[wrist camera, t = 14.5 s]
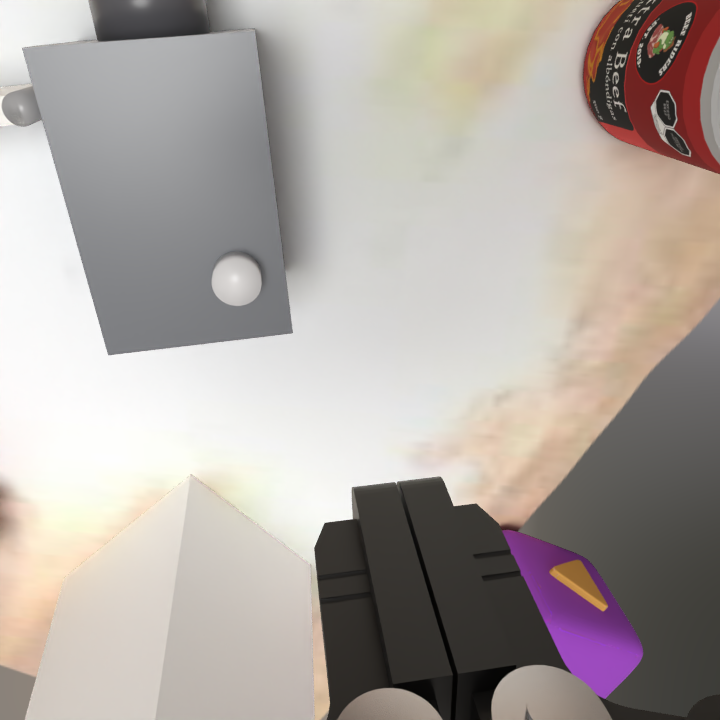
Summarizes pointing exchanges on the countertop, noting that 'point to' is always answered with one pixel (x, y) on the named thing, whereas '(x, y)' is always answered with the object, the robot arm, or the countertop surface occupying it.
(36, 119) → the side door
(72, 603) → the milk
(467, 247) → the countertop surface
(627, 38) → the canned food
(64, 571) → the countertop surface
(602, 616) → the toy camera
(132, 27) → the camera body
